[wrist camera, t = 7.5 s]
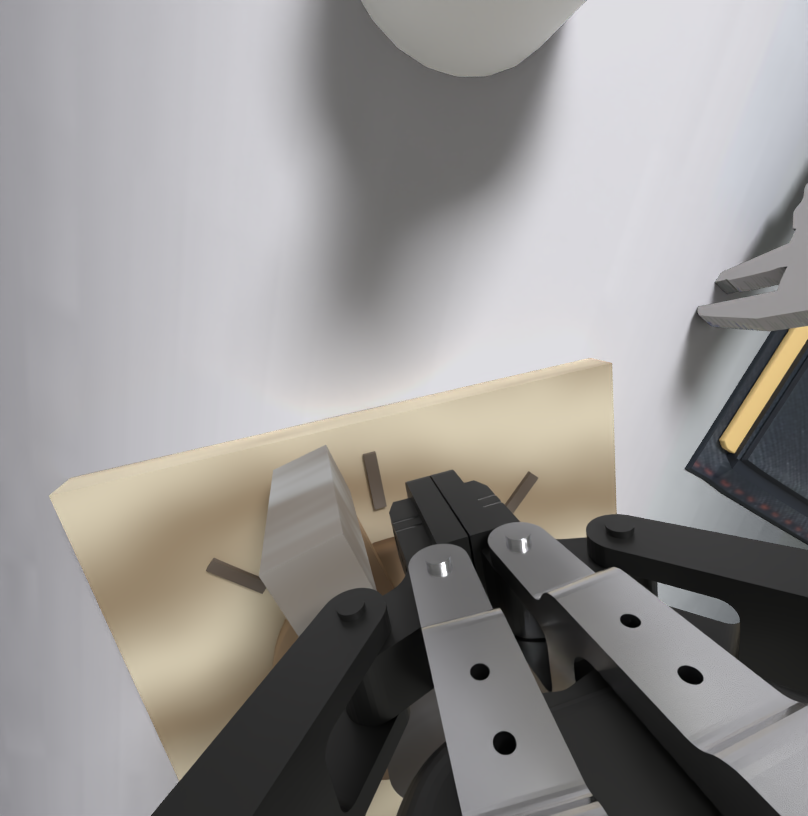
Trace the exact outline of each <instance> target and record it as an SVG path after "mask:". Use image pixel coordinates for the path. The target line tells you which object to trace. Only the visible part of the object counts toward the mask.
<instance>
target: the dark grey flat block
mask: <svg viewBox="0 0 808 816" xmlns="http://www.w3.org/2000/svg"><path fill="white" fill-rule="evenodd" d="M685 469H686V470H688V471H690V472H692V473H693V474H695V475H697V476H699V477H701V478H702V479H704V480H705V481H707V482H708V483H709V484H710V485H712V486H713V487H714V488H716V489H717V490H718V491H720V492H721V493H723V494H724V495H726V496H728V497H729V498H731V499H733V500H734V501H736V502H738V503H739V504H741V505H742V506H744V507H746V508H747V509H749V510H751V511H752V512H754V513H756V514H757V515H759V516H761V517H762V518H764V519H766V520H768V521H769V522H771V523H773V524H774V525H776V526H778V527H779V528H781V529H783V530H784V531H786V532H788V533H789V534H791V535H793V536H794V537H796V538H798V539H800V540H801V541H803V542H805V543H806V544H808V326H804V327H797V328H790V329H783V330H776V331H771V332H770V334H769V336H768V337H767V339H766V340H765V342H764V344H763V345H762V347H761V348H760V350H759V352H758V353H757V355H756V356H755V358H754V359H753V361H752V363H751V364H750V366H749V367H748V369H747V371H746V372H745V374H744V375H743V377H742V379H741V380H740V382H739V383H738V385H737V386H736V388H735V390H734V391H733V393H732V394H731V396H730V398H729V399H728V401H727V402H726V404H725V406H724V407H723V409H722V410H721V412H720V413H719V415H718V417H717V418H716V420H715V421H714V423H713V425H712V426H711V428H710V429H709V431H708V432H707V434H706V436H705V437H704V439H703V440H702V442H701V444H700V445H699V447H698V448H697V450H696V451H695V453H694V455H693V456H692V458H691V459H690V461H689V463H688V464H687V466H686V467H685Z"/></svg>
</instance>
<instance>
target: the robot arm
mask: <svg viewBox="0 0 808 816" xmlns="http://www.w3.org/2000/svg"><path fill="white" fill-rule="evenodd" d="M405 486H406V492H407V497H408V498H407V499H403V500H399V501H396V502H393V503H392V506H391V509H390V511H389V515H390V520H391V524H392V528H393V533H394V537H395V542H396V546H397V551H398V555H399V559H400V562H401V565H402V568H403V571H404V574H405V577H404V579H403V580H402V582H401V583H400V584H399V585H398V586H397V587H395V588H394V589H393V590H391V591H390V592H388V593H386V594H385V595H383V596H382V595H381V594H380V593H379V592H378V591H376V590H374V589H370V588H355V589H351V590H347V591H345V592H342V593H340V594H338V595H337V596H335V597H334V598H332V599H331V600H330V601H329V602H328V603H327V604H326V605H325V606H324V607H323V608H322V610H321V611H320V612H319V613H318V614H317V616H316V617H315V618H314V619H313V620H312V622H311V623H310V624H309V625H308V627H307V628H306V629H305V630H304V631H303V633H302V634H301V635H300V636H299V637H298V639H297V640H296V641H295V642H294V643H293V645H292V646H291V647H290V648H289V649H288V651H287V652H286V653H285V654H284V656H283V657H282V658H281V659H280V660H279V662H278V663H277V664H276V665H275V666H274V668H273V669H272V670H271V671H270V672H269V674H268V675H267V676H266V677H265V678H264V680H263V681H262V682H261V683H260V685H259V686H258V687H257V688H256V689H255V691H254V692H253V693H252V694H251V695H250V697H249V698H248V699H247V700H246V701H245V703H244V704H243V705H242V706H241V707H240V709H239V710H238V711H237V712H236V714H235V715H234V716H233V717H232V718H231V720H230V721H229V722H228V723H227V724H226V726H225V727H224V728H223V729H222V730H221V732H220V733H219V734H218V735H217V736H216V738H215V739H214V740H213V741H212V743H211V744H210V745H209V746H208V747H207V749H206V750H205V751H204V752H203V753H202V755H201V756H200V757H199V758H198V759H197V761H196V762H195V763H194V764H193V765H192V767H191V768H190V769H189V770H188V771H187V773H186V774H185V775H184V776H183V778H182V779H181V780H180V781H179V782H178V784H177V785H176V786H175V787H174V788H173V790H172V791H171V792H170V793H169V794H168V796H167V797H166V798H165V799H164V800H163V802H162V803H161V804H160V805H159V807H158V808H157V809H156V810H155V811H154V813H153V814H152V815H151V816H365V815H366V813H367V811H368V808H369V806H370V804H371V802H372V800H373V798H374V795H375V793H376V791H377V789H378V787H379V785H380V782H381V780H382V778H383V776H384V774H385V772H386V769H387V767H388V765H389V763H390V761H391V758H392V756H393V754H394V752H395V750H396V748H397V745H398V743H399V741H400V739H401V737H402V735H403V732H404V730H405V728H406V726H407V724H408V721H409V718H410V713H411V707H410V705H412V704H413V703H414V702H416V701H417V700H419V699H420V698H421V697H423V696H424V695H425V694H427V693H428V692H429V691H431V690H432V689H433V688H435V693H436V697H437V702H438V706H439V711H440V716H441V720H442V725H443V729H444V734H445V739H446V742H444V743H443V744H442V745H441V746H440V747H439V748H438V749H437V750H435V751H434V752H433V753H432V755H431V756H430V757H429V758H428V759H427V760H426V762H425V763H424V764H423V765H422V767H421V768H420V769H419V771H418V772H417V774H416V775H415V777H414V778H413V780H412V782H411V784H410V785H409V787H408V789H407V791H406V793H405V795H404V797H403V800H402V802H401V805H400V807H399V810H398V812H397V815H396V816H808V550H805V549H800V548H794V547H789V546H784V545H779V544H774V543H769V542H763V541H758V540H753V539H748V538H743V537H738V536H732V535H727V534H722V533H717V532H712V531H706V530H701V529H696V528H691V527H686V526H681V525H675V524H670V523H665V522H660V521H655V520H650V519H644V518H639V517H634V516H629V515H622V514H610V515H603V516H600V517H597V518H595V519H593V520H591V521H590V522H589V523H588V524H587V527H586V537H584V538H570V539H555V538H554V537H553V536H551V535H550V534H549V533H548V532H547V531H545V530H544V529H543V528H541V527H540V526H538V525H535V524H531V523H526V522H520V521H519V520H518V519H517V518H516V516H515V515H514V514H513V513H512V512H511V511H510V510H509V509H508V508H507V507H506V506H505V505H504V503H503V502H502V503H501V500H500V499H499V498H498V497H497V496H495V494H494V493H493V491H492V490H491V489H490V488H489V487H488V486H487V485H484V484H482V483H480V482H477V481H475V480H473V481H469V482H465V483H464V482H463V481H462V480H461V478H460V477H459V476H458V475H457V473H456V472H455V471H454V470H453V469H452V470H448V471H444V472H441V473H437V474H433V475H430V476H426V477H422V478H418V479H415V480H411V481H407V482H405ZM657 582H659V583H663V584H667V585H670V586H674V587H678V588H681V589H685V590H688V591H692V592H696V593H699V594H703V595H707V596H710V597H714V598H717V599H720V600H722V601H725V602H726V603H728V604H729V605H731V606H732V607H733V608H734V609H735V610H736V611H737V613H738V615H739V617H740V623H737V624H727V623H723V622H720V621H716V620H713V619H710V618H706V617H703V616H700V615H696V614H693V613H690V612H687V611H683V610H680V609H677V608H673V607H670V606H668V605H666V604H665V603H664V602H663V601H661V600H660V599H659V598H658V591H657Z"/></svg>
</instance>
